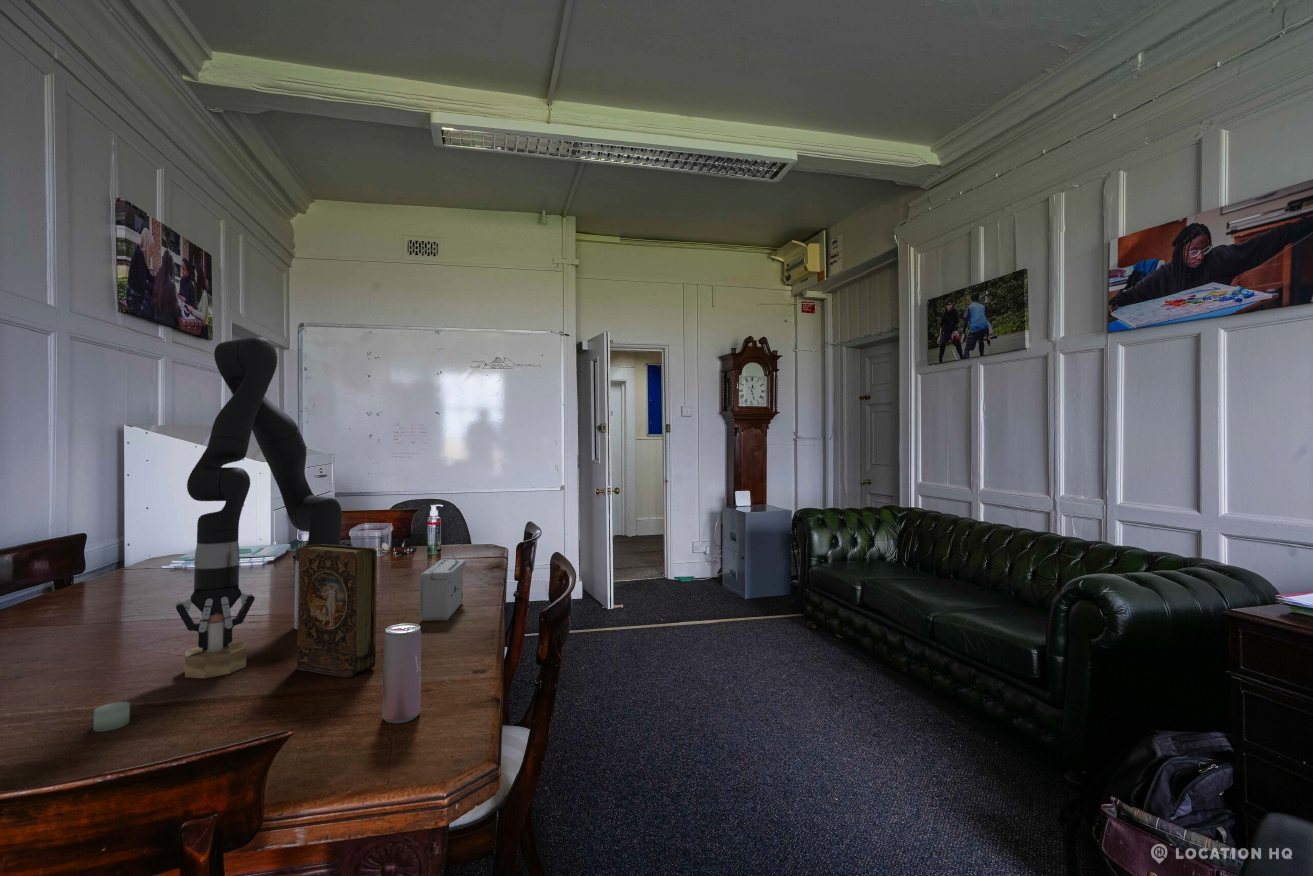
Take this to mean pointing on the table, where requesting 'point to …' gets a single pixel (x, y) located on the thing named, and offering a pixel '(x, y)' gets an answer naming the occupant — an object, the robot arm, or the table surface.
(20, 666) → the table surface
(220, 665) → the bead
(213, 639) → the grey cylinder
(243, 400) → the robot arm
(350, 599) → the book
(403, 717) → the beverage can
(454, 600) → the stereo radio cassette player
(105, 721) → the bead
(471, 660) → the table surface
